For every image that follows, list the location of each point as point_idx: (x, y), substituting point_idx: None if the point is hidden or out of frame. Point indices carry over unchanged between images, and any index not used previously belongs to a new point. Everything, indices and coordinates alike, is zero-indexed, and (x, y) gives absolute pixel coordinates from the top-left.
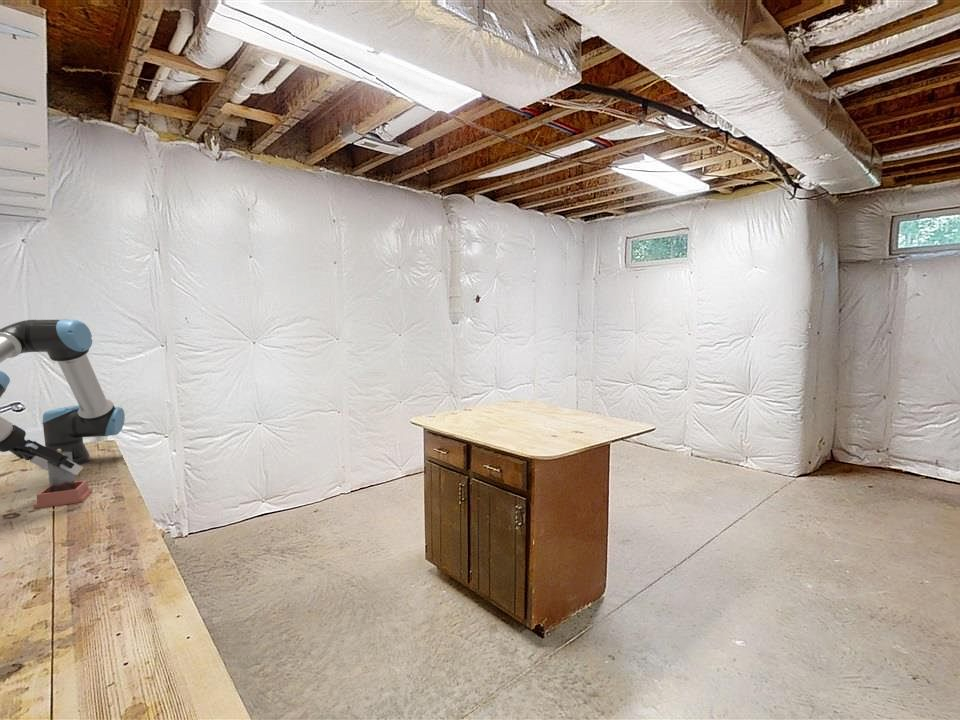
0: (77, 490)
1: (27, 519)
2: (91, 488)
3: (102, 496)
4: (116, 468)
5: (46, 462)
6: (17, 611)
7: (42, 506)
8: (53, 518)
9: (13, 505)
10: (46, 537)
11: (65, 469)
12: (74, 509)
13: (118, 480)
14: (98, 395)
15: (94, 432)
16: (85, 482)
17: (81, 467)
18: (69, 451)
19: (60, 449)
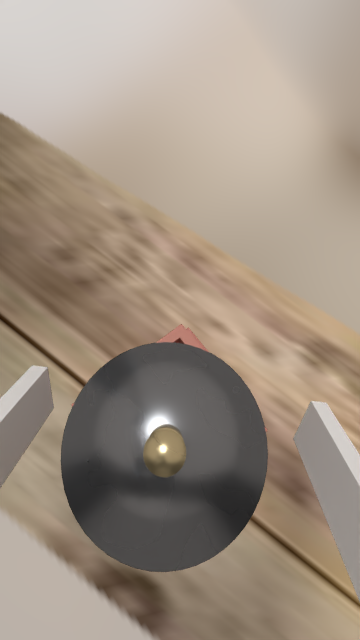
0: (265, 429)
1: (236, 618)
2: (188, 328)
3: (261, 355)
4: (46, 150)
5: (17, 424)
6: None
7: None
8: (325, 580)
9: (17, 500)
10: None
11: (329, 518)
12: (301, 480)
13: (161, 231)
14: None
15: None
16: (198, 345)
17: (330, 414)
18: (169, 342)
19: (183, 446)
